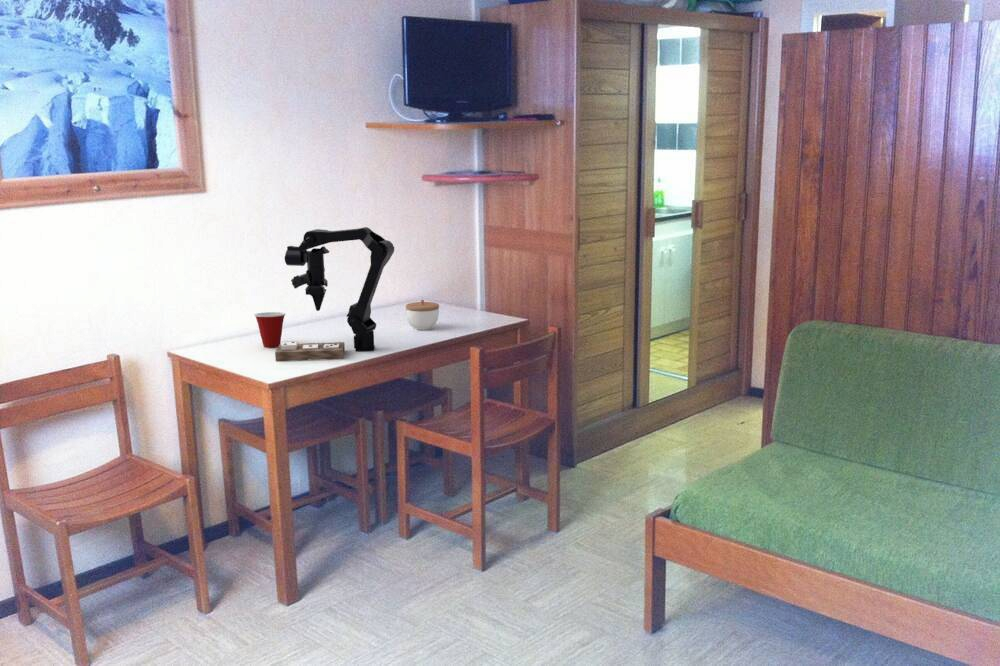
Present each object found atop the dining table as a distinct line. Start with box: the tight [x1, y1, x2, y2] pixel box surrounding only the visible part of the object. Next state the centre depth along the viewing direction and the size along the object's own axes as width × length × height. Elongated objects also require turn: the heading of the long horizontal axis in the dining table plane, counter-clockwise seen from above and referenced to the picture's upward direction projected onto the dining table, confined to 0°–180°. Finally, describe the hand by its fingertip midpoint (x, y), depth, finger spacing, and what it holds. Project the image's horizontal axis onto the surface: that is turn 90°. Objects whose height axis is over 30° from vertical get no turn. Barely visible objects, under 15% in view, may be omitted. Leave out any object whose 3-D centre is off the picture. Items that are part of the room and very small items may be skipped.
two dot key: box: [280, 341, 299, 350], centre depth 320 cm, size 5×5×2 cm
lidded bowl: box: [405, 299, 440, 331], centre depth 362 cm, size 13×13×11 cm
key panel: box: [274, 341, 346, 362], centre depth 321 cm, size 22×12×3 cm, turn 96°
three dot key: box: [323, 344, 339, 349], centre depth 322 cm, size 5×5×2 cm
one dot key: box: [302, 344, 319, 349], centre depth 321 cm, size 5×5×2 cm
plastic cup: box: [253, 311, 286, 349], centre depth 335 cm, size 11×11×12 cm
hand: (318, 310), depth 332 cm, fingers closed
